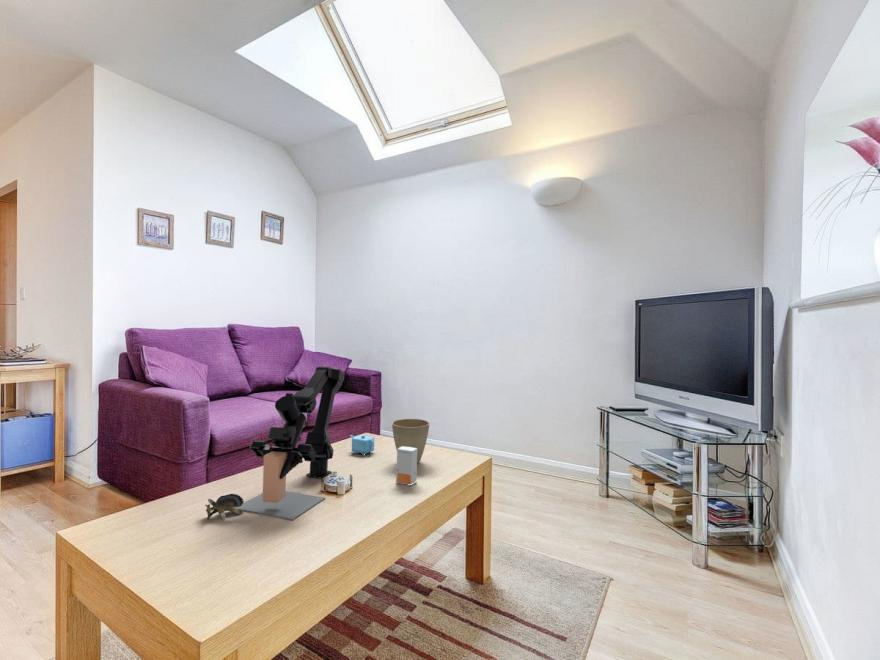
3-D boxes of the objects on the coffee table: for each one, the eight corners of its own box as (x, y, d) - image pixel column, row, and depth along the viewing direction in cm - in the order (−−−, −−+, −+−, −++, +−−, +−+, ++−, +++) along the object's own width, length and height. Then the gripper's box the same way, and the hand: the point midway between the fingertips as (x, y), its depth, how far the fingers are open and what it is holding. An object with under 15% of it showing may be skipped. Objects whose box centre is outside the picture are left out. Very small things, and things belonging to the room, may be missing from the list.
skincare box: (395, 483, 148) (396, 448, 148) (401, 479, 152) (402, 445, 152) (411, 486, 146) (412, 451, 146) (416, 482, 150) (417, 447, 150)
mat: (270, 489, 140) (270, 488, 140) (325, 498, 134) (325, 497, 134) (233, 509, 124) (233, 507, 124) (292, 520, 118) (292, 519, 118)
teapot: (345, 452, 183) (345, 434, 183) (353, 448, 189) (354, 431, 189) (368, 456, 178) (369, 438, 178) (377, 453, 183) (377, 435, 183)
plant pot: (393, 456, 179) (394, 418, 179) (429, 457, 179) (430, 419, 178) (388, 468, 164) (389, 426, 164) (427, 469, 164) (428, 427, 164)
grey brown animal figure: (209, 523, 113) (246, 509, 118) (203, 496, 116) (239, 484, 121) (209, 528, 119) (244, 515, 124) (203, 503, 121) (237, 491, 126)
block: (271, 495, 127) (272, 451, 127) (285, 496, 126) (286, 452, 126) (262, 501, 122) (263, 455, 122) (277, 503, 122) (278, 457, 122)
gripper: (253, 413, 129) (230, 461, 119) (313, 417, 127) (294, 466, 116) (267, 433, 137) (246, 480, 127) (323, 437, 135) (306, 485, 124)
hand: (272, 477), depth 123 cm, fingers closed on block, 4 cm apart
